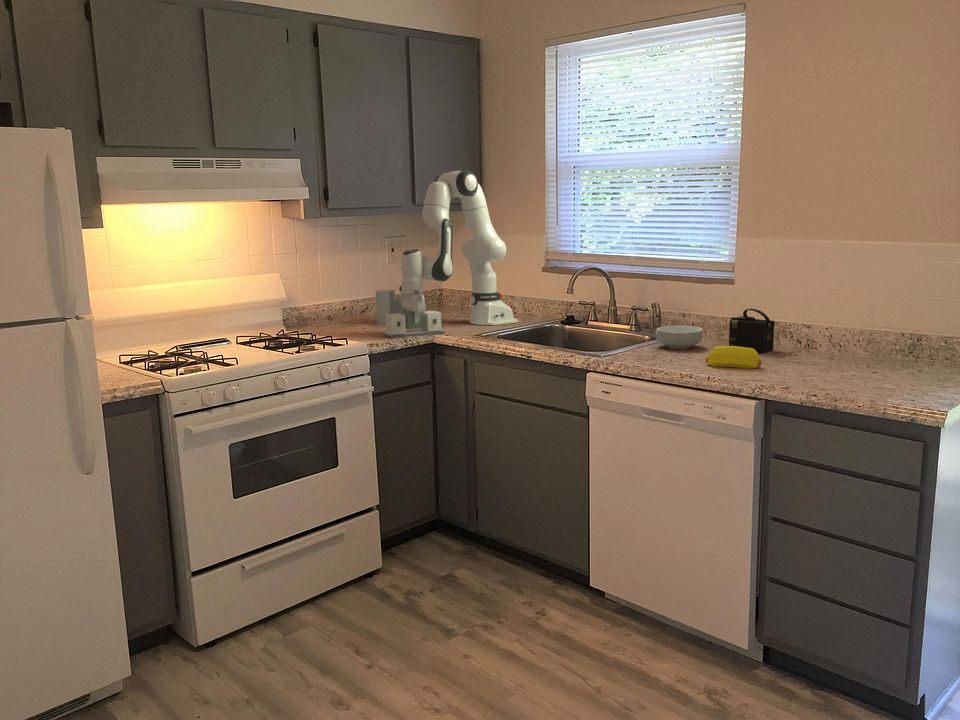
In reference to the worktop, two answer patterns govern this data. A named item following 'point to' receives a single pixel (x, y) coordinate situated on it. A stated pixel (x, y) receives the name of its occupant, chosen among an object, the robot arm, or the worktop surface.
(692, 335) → the cereal bowl
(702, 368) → the worktop surface
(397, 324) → the rail base
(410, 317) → the block
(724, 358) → the yellow rounded bar
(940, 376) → the worktop surface
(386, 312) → the circuit breaker
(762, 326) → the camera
